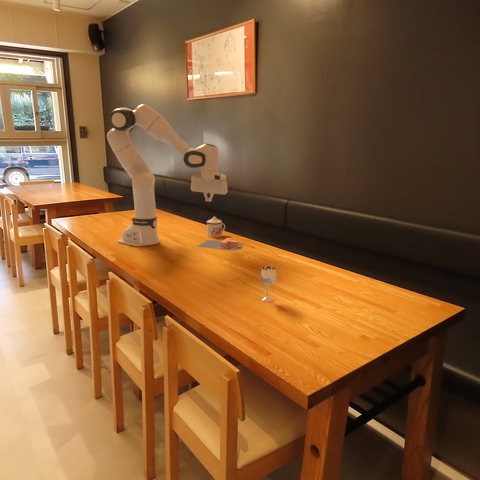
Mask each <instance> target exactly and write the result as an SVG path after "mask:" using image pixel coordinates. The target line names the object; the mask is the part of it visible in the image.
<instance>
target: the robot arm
mask: <svg viewBox="0 0 480 480" xmlns="http://www.w3.org/2000/svg"><path fill="white" fill-rule="evenodd" d="M109 123H110V125H111V127H112V128H111V129H110V130H109V131H108V132H107V133H106V139H107V142H108V144H109V147H110V148H111V150H112V152H113V153H114V155H115V157H116V158H117V160H118V162H119V163H120V165H121V166H122V168H123V170H124V171H125V172H126V173H127V174H128V176H129V177H130V178H131V185H132V197H133V203H134V204H133V205H134V206H133V207H134V217H132V218H131V219H130V222H132V224H130V225H129V226H128V227H126V228H125V229H124V230H123V232H122V236H121V238H120V239H118V241H117V242H118V244H123V245H129V246H134V247H143V246H145V247H146V246H151V245H152V246H153V245H157V244H159V243H160V239H159V236H158V235H159V234H158V227H157V226H158V223H157V222H158V220H157V219H158V218H157V216H156V214H157V212H156V210H157V209H156V195H155V182H156V178H155V175H154V174H153V172H152V171H151V169H150V167H149V166H148V165H147V163H146V161H145V160H144V159H143V157H142V156H141V154H140V152H139V150H138V148H137V147H136V146H135V144H134V142H133V141H132V139H131V136H130V134H129V133H131V132H132V130H133V129H134V128H135V127H136V126H138V127H140V128H142V129H143V130H144V131H145V132H146V133H147V134H149V136H151V137H153V138H154V139H155V140H157V141H160V142H163V143H165V144H167V145H169V146H170V147H172V148H173V149H174V150H175V151H176V152H178V153H179V154H180V155H181V156H182V157H183V162H184V164H185V166H187V167H188V168H190V169H196V168H200V174H197V173H194V174H192V175H191V178H190V179H191V182H190V183H191V184H190V191H191V192H195V193H196V192H198V193H203V197H204V198H205V202H209V203H211V202H212V199H213V197H214V195H226V194H227V193H228V182H227V176H226V175H225V174H223V173H221V172H219V168H218V167H219V166H218V164H219V149H218V147H217V145H215V144H210V143H205V142H204V143H203V144H201V145H200V146H198V147H196V148H194V147H192V146H190V145H189V144H187V143H186V142H185V141H184V140H183V139H182V138H181V137H180V136H178V134H177V133H176V132H175V131H174V129H173V127H172V126H171V125H170V123H169V122H168V121H167V120H166V119H165V118H164V117H163V116H162V115H161V114H160V113H158V111H157V110H155V109H153V108H152V107H150V106H149V105H147V104H146V103H143V104H139V105H138V106H137V107H136V108H135V109H133V108H131V107H125V106H123V107H119V108H115V109H114V110H112V111H111V112H110V114H109ZM208 194H209V197H208Z"/></svg>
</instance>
